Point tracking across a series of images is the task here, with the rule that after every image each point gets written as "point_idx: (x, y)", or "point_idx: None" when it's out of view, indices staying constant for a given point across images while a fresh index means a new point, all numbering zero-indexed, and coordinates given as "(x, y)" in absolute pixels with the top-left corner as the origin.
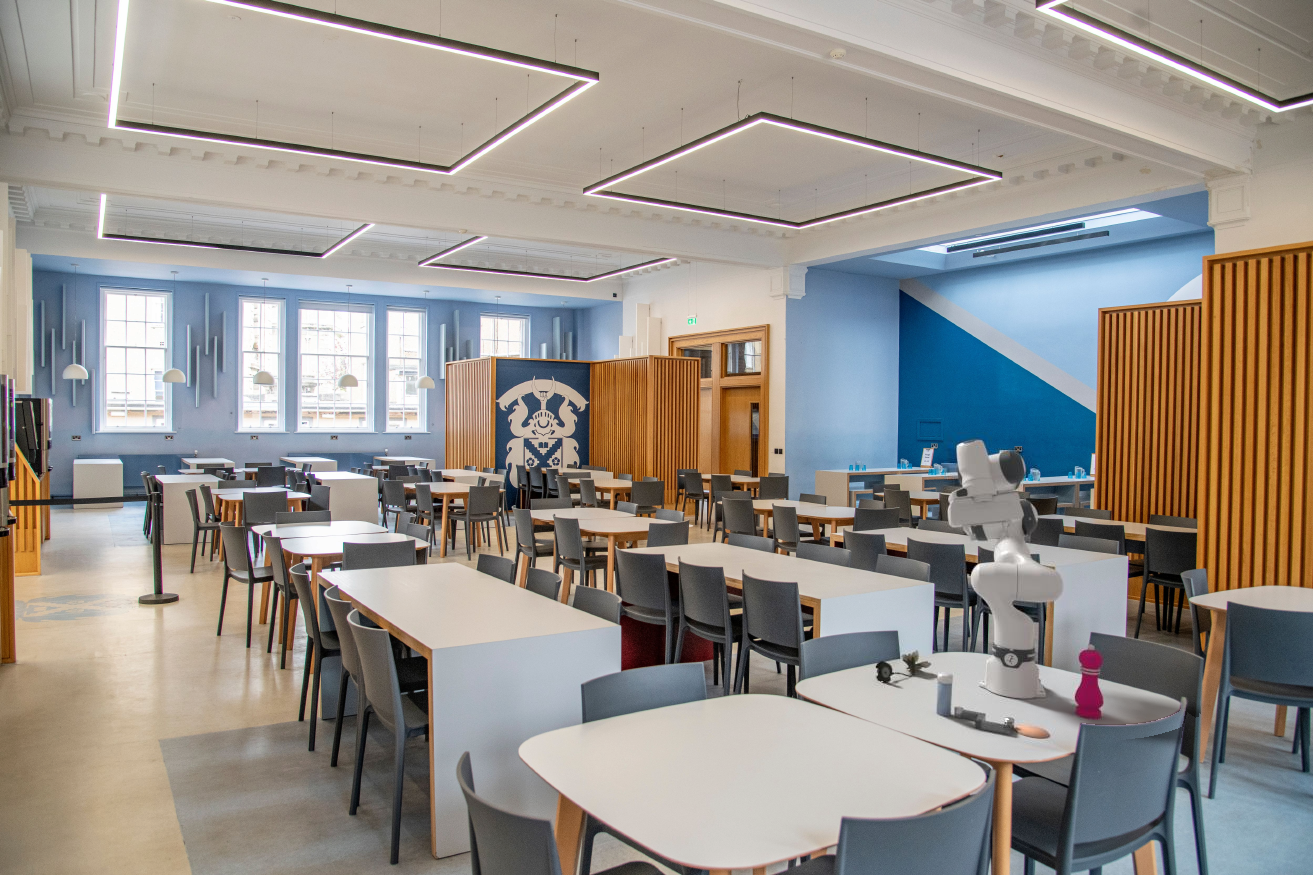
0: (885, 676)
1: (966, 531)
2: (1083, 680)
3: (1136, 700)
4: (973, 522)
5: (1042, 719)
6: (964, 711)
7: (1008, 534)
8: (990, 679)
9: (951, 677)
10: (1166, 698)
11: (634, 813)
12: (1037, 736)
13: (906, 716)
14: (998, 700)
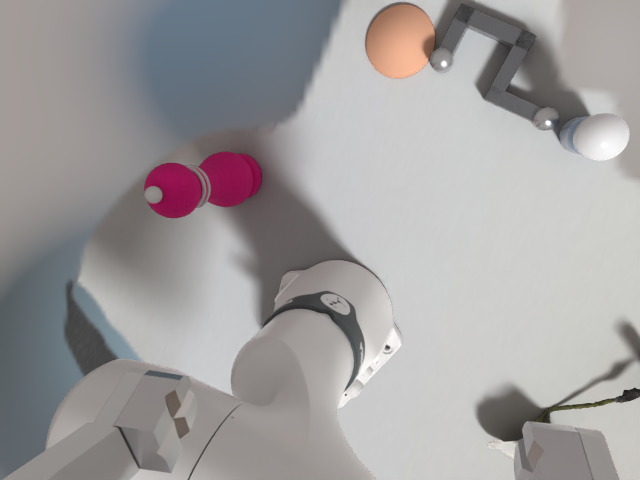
0: None
1: None
2: (217, 180)
3: (132, 269)
4: None
5: (344, 133)
6: (536, 105)
7: (142, 382)
8: (383, 320)
9: (587, 120)
10: (84, 283)
11: None
12: (401, 5)
13: None
14: (394, 247)
